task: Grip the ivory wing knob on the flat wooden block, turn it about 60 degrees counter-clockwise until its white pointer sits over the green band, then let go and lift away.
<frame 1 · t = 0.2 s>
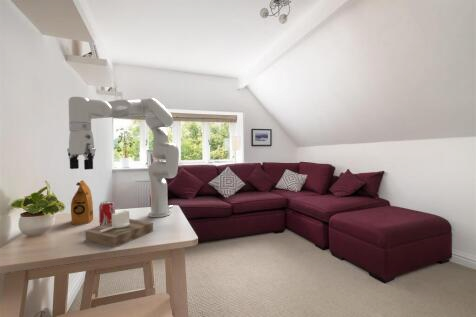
hand: (81, 169, 95), 30 cm above the table, tool pointing down, fingers open, 9 cm apart
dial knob: (114, 221, 100), point 7 cm above the table, hinge at 0.0°
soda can: (107, 225, 117), on the table
coffee package: (82, 221, 124), on the table
flat wooden block: (121, 235, 103), on the table
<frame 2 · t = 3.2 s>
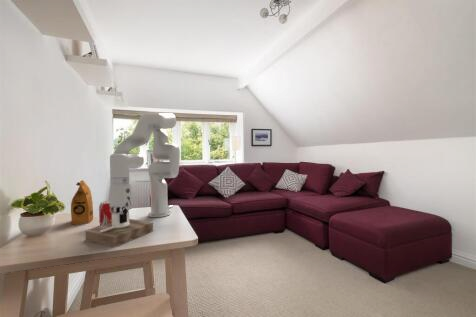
hand: (120, 221, 102), 6 cm above the table, tool pointing down, fingers closed on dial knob, 2 cm apart
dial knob: (114, 221, 100), point 7 cm above the table, hinge at 0.0°, touching gripper
everything else where it was.
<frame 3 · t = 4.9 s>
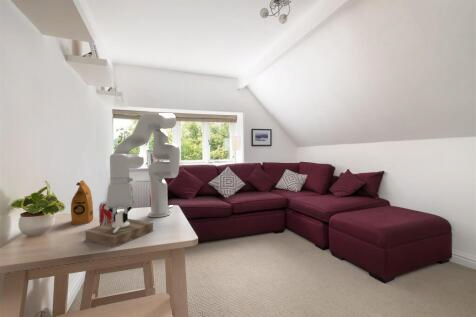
hand: (120, 221, 102), 6 cm above the table, tool pointing down, fingers closed on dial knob, 2 cm apart
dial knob: (118, 221, 99), point 7 cm above the table, hinge at 36.8°, touching gripper
everything else where it was.
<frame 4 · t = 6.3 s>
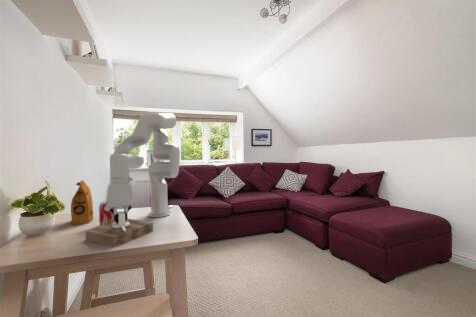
hand: (120, 221, 102), 6 cm above the table, tool pointing down, fingers closed on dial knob, 2 cm apart
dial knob: (122, 220, 100), point 7 cm above the table, hinge at 61.0°, touching gripper
everything else where it was.
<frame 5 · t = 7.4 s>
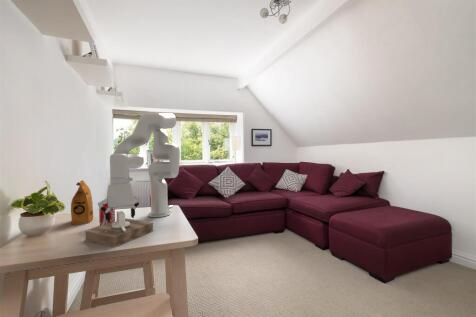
hand: (120, 219, 102), 7 cm above the table, tool pointing down, fingers open, 9 cm apart
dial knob: (121, 220, 100), point 7 cm above the table, hinge at 60.3°
everything else where it was.
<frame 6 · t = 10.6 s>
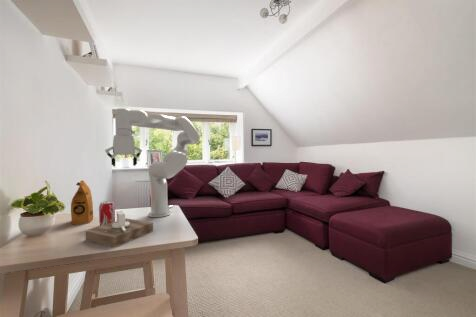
hand: (124, 165, 119), 30 cm above the table, tool pointing down, fingers open, 9 cm apart
nothing on the table moved.
at the end: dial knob at +60° (first picture: +0°); the gripper is holding nothing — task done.
